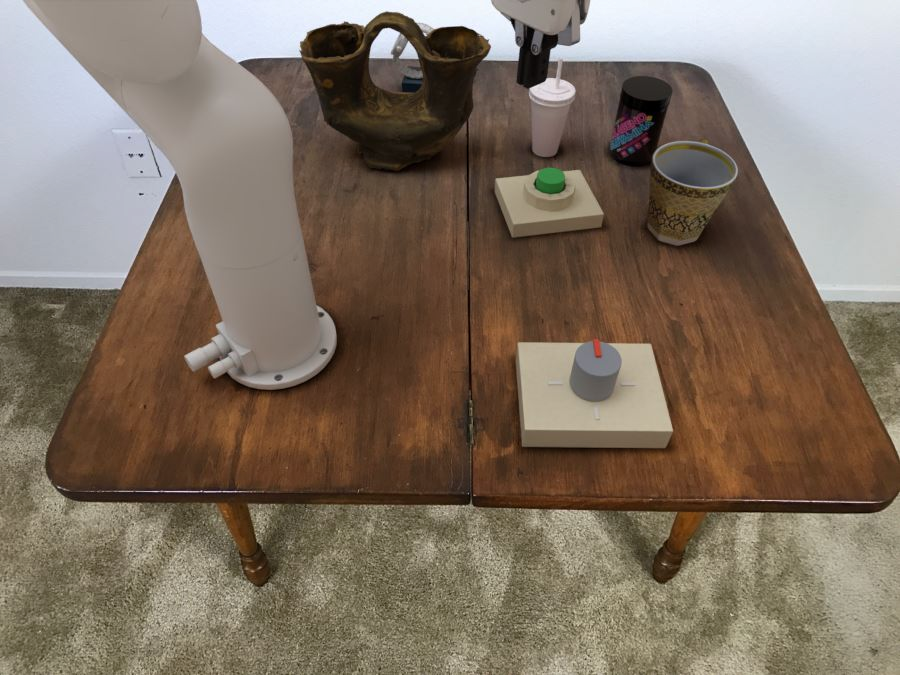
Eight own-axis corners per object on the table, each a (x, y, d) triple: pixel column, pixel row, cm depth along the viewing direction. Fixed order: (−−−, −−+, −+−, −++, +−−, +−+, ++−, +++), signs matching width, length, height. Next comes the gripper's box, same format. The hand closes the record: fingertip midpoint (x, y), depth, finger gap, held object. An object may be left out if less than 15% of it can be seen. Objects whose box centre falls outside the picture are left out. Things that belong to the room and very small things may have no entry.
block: (512, 238, 87) (514, 212, 84) (494, 191, 93) (496, 166, 90) (601, 227, 88) (606, 202, 85) (577, 182, 95) (582, 158, 92)
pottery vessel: (486, 137, 102) (493, 1, 88) (483, 179, 95) (491, 39, 80) (322, 129, 103) (302, -6, 89) (307, 171, 96) (283, 30, 81)
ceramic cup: (704, 263, 84) (730, 197, 76) (625, 241, 87) (643, 174, 79) (723, 205, 92) (747, 140, 84) (650, 186, 94) (668, 121, 87)
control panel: (522, 447, 66) (524, 428, 63) (515, 360, 73) (517, 340, 71) (665, 448, 66) (674, 430, 64) (644, 361, 73) (651, 342, 71)
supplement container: (601, 144, 101) (614, 78, 94) (643, 139, 102) (660, 73, 95) (618, 170, 97) (633, 103, 89) (662, 164, 98) (681, 97, 90)
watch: (396, 83, 113) (392, 16, 105) (444, 86, 113) (444, 19, 104) (390, 100, 109) (386, 32, 101) (439, 103, 109) (439, 35, 101)
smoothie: (564, 165, 98) (578, 71, 87) (520, 159, 99) (529, 66, 88) (568, 141, 102) (582, 49, 91) (525, 136, 103) (535, 44, 92)
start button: (539, 196, 87) (541, 185, 85) (532, 180, 89) (533, 168, 88) (566, 193, 87) (568, 182, 86) (558, 177, 90) (560, 166, 88)
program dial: (616, 402, 66) (625, 374, 63) (571, 401, 66) (578, 373, 63) (610, 367, 69) (618, 338, 65) (567, 366, 69) (573, 338, 66)
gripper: (468, -121, 64) (461, 67, 77) (587, -80, 56) (556, 121, 70) (525, -133, 67) (509, 49, 81) (644, -96, 60) (604, 98, 73)
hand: (531, 82), depth 75 cm, fingers closed
